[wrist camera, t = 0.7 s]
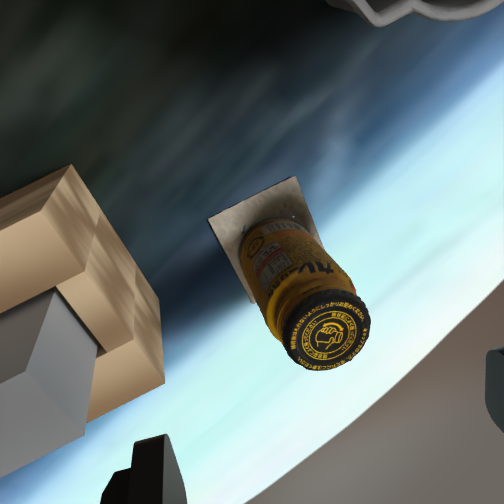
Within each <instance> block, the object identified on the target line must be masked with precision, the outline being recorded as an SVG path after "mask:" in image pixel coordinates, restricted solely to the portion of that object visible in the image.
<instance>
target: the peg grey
mask: <svg viewBox="0 0 504 504" xmlns="http://www.w3.org/2000/svg"><path fill="white" fill-rule="evenodd" d="M97 347H98V340H97V339H96V337H95V336H94V335H93V334H92V332H91V331H90V330H89V328H88V327H87V326H86V324H85V323H84V322H83V321H82V319H81V318H80V317H79V315H78V314H77V313H76V312H75V310H74V309H73V308H72V306H71V305H70V304H69V302H68V301H67V300H66V299H65V297H64V296H63V295H62V293H61V292H60V291H59V290H58V288H57V287H56V286H54V287H52V288H50V289H48V290H46V291H44V292H42V293H40V294H38V295H36V296H34V297H32V298H30V299H28V300H26V301H24V302H22V303H20V304H18V305H16V306H14V307H12V308H10V309H8V310H6V311H4V312H2V313H0V478H1V477H3V476H5V475H7V474H9V473H11V472H13V471H15V470H17V469H19V468H21V467H23V466H25V465H27V464H29V463H31V462H33V461H34V460H36V459H38V458H40V457H42V456H44V455H46V454H48V453H50V452H52V451H54V450H56V449H58V448H60V447H62V446H64V445H66V444H68V443H70V442H72V441H74V440H76V439H78V438H80V437H82V436H84V433H85V426H86V420H87V413H88V406H89V400H90V393H91V386H92V380H93V373H94V366H95V360H96V353H97Z"/></svg>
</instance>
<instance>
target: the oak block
mask: <svg viewBox="0 0 504 504" xmlns="http://www.w3.org/2000/svg"><path fill="white" fill-rule="evenodd" d="M54 286H56V287H57V288H58V290H59V291H60V292H61V293H62V295H63V296H64V297H65V299H66V300H67V301H68V302H69V304H70V305H71V306H72V308H73V309H74V310H75V312H76V313H77V314H78V315H79V317H80V318H81V319H82V321H83V322H84V323H85V324H86V326H87V327H88V328H89V330H90V331H91V332H92V334H93V335H94V336H95V337H96V339H97V340H98V347H97V353H96V360H95V366H94V373H93V380H92V386H91V393H90V400H89V406H88V413H87V420H86V423H88V422H90V421H92V420H94V419H96V418H98V417H100V416H102V415H104V414H105V413H107V412H109V411H111V410H113V409H115V408H117V407H119V406H121V405H123V404H125V403H127V402H129V401H131V400H133V399H135V398H137V397H139V396H141V395H143V394H145V393H147V392H149V391H151V390H153V389H155V388H157V387H159V386H161V385H163V384H165V376H164V362H163V348H162V334H161V320H160V306H159V299H158V297H157V296H156V294H155V292H154V291H153V289H152V288H151V286H150V285H149V283H148V282H147V280H146V279H145V277H144V275H143V274H142V272H141V271H140V269H139V268H138V266H137V265H136V263H135V262H134V260H133V258H132V257H131V255H130V254H129V252H128V251H127V249H126V248H125V246H124V244H123V243H122V241H121V240H120V238H119V237H118V235H117V234H116V232H115V231H114V229H113V227H112V226H111V224H110V223H109V221H108V220H107V218H106V217H105V215H104V214H103V212H102V210H101V209H100V207H99V206H98V204H97V203H96V201H95V200H94V198H93V197H92V195H91V193H90V192H89V190H88V189H87V187H86V186H85V184H84V183H83V181H82V180H81V178H80V176H79V175H78V173H77V172H76V170H75V169H74V167H73V166H72V164H70V165H67V166H65V167H63V168H61V169H59V170H57V171H55V172H53V173H51V174H49V175H47V176H45V177H43V178H41V179H39V180H37V181H35V182H33V183H31V184H29V185H27V186H25V187H23V188H21V189H19V190H17V191H15V192H13V193H11V194H9V195H7V196H5V197H3V198H0V313H2V312H4V311H6V310H8V309H10V308H12V307H14V306H16V305H18V304H20V303H22V302H24V301H26V300H28V299H30V298H32V297H34V296H36V295H38V294H40V293H42V292H44V291H46V290H48V289H50V288H52V287H54Z"/></svg>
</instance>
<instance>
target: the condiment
mask: <svg viewBox="0 0 504 504" xmlns="http://www.w3.org/2000/svg"><path fill="white" fill-rule="evenodd" d="M293 215H294V216H295V217H294V218H293V217H292V216H293ZM208 220H209V222H210V224H211V226H212V228H213V230H214V232H215V234H216V236H217V237H218V239H219V241H220V243H221V245H222V247H223V249H224V251H225V253H226V254H227V256H228V258H229V260H230V262H231V264H232V266H233V267H234V269H235V271H236V273H237V275H238V277H239V279H240V281H241V283H242V284H243V286H244V288H245V290H246V292H247V294H248V296H249V298H250V299H251V301H252V303H253V304H254V303H255V302H256V303H257V305H258V306H259V308H260V311H261V313H262V315H263V317H264V320H265V323H266V325H267V326H268V328H269V329H270V332H271V333H272V334H273V336H274V337H275V338H276V339H277V340H279V341H280V342H281V343H282V344H283V346H284V347H285V350H286V351H287V354H288V355H289V357H291V359H292V360H293V361H294V362H295V363H297V364H299V365H301V366H303V367H304V368H306V369H308V370H314V371H322V370H329V369H333V368H336V367H338V366H340V365H343V364H345V363H346V362H348V361H351V360H352V358H353V357H354V356H355V355H357V354H358V353H359V352H360V351H361V349H362V347H363V346H364V344H365V342H366V340H367V339H368V337H369V332H370V324H371V318H370V316H369V313H368V309H367V308H366V305H365V303H364V302H363V301H361V298H360V297H358V296H357V295H356V290H355V287H354V285H353V283H352V281H351V279H350V277H349V276H348V275H347V274H346V273H345V271H344V270H342V268H340V266H339V265H338V264H337V263H336V262H335V261H334V260H333V259H332V258H331V257H330V256H329V255H328V254H327V252H326V251H325V249H324V247H323V245H322V242H321V240H320V237H319V235H318V232H317V230H316V227H315V224H314V222H313V219H312V216H311V214H310V212H309V209H308V207H307V204H306V202H305V199H304V197H303V194H302V192H301V189H300V186H299V184H298V181H297V179H296V176H294V177H291V178H289V179H287V180H286V181H283V182H281V183H279V184H277V185H274V186H272V187H270V188H269V189H267V190H264V191H262V192H260V193H258V194H256V195H254V196H252V197H250V198H248V199H246V200H244V201H242V202H240V203H238V204H237V205H235V206H233V207H231V208H229V209H226V210H224V211H223V212H221V213H219V214H217V215H215V216H213V217H211V218H209V219H208ZM244 225H246V228H245V229H244V230H243V226H244ZM242 231H245V233H244V234H242Z"/></svg>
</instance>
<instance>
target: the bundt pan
mask: <svg viewBox="0 0 504 504" xmlns="http://www.w3.org/2000/svg"><path fill="white" fill-rule="evenodd" d="M325 1H326V2H327V3H328V4H329V5H330V6H332V7H336V8H340V9H343V10H347V11H351V12H355V13H358V15H359V16H360V17H361V18H362V19H363V20H364V21H365V23H366V24H368V25H370V26H372V27H384V26H386V25H388V24H390V23H392V22H394V21H396V20H397V19H399V18H401V17H403V16H405V15H407V14H414V15H417V16H420V17H422V18H425V19H429V20H435V21H444V22H451V21H463V20H468V19H472V18H475V17H478V16H480V15H482V14H485V13H487V12H489V11H490V10H492V9H494V8H495V7H497V6H498V5H500V4H501V3H503V2H504V0H325Z"/></svg>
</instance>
